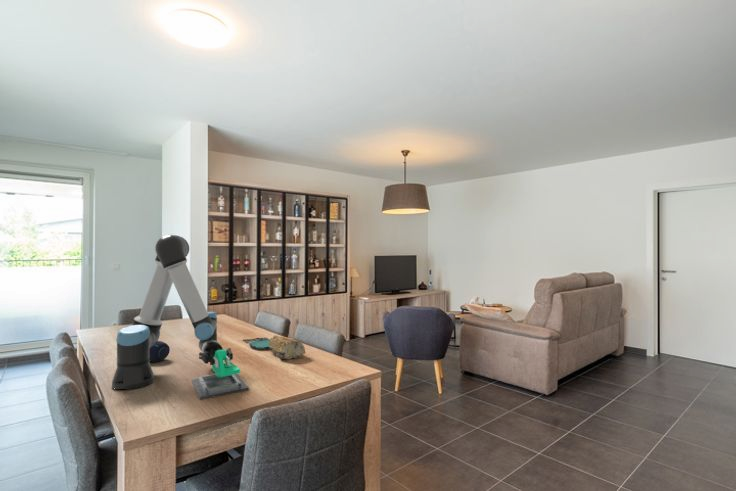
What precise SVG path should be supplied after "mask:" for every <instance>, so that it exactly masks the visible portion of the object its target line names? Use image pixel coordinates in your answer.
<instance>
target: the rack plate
mask: <svg viewBox="0 0 736 491" xmlns="http://www.w3.org/2000/svg"><path fill="white" fill-rule="evenodd" d="M191 383H192V385H193V387H194V390H195V392H196V394H197V396H198V398H199V400H205V399H210V398H214V397H220V396H224V395H225V396H226V395H230V394H235V393H240V392H246V391H249V386H248V385H247V384H246V382H244V380H243V379H242V378H241V377H240V376H239V373H238V374H234V375H229V376H225V377H218V376H216V375H215V373H211V374H207V375H206V374H205V375H201V376H198V377H197V378H193V379H191Z"/></svg>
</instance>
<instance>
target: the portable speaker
mask: <svg viewBox="0 0 736 491" xmlns="http://www.w3.org/2000/svg"><path fill="white" fill-rule="evenodd" d="M169 354H170V346H169V344H167V343H166V342H164V341H161V340H158V341H157V342H156V343H155V344H154V345H153V346H152V347H151V348H150V358H149V361H150V362H160V361H161V362H162V361H164V360H165V359H166V358H167V357H168V356H169Z"/></svg>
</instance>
